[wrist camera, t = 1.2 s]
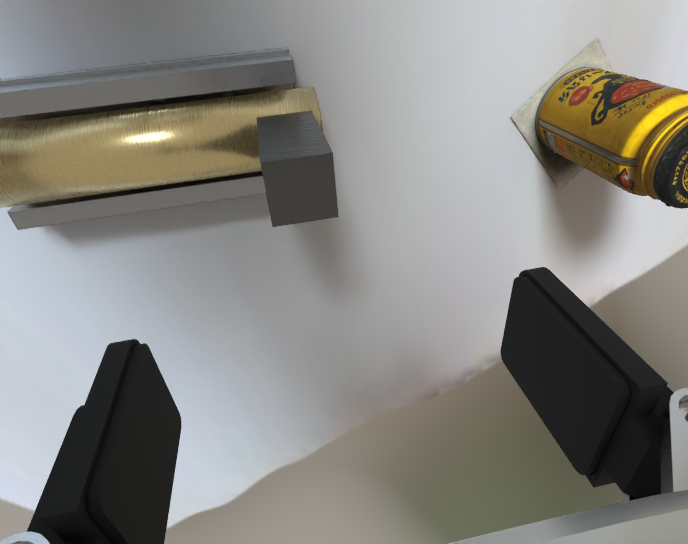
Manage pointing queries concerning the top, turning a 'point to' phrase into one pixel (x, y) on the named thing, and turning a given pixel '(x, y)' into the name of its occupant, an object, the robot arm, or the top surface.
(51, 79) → the channel
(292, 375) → the top surface
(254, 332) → the top surface
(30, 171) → the bolt
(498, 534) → the robot arm
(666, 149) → the condiment
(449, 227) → the top surface
